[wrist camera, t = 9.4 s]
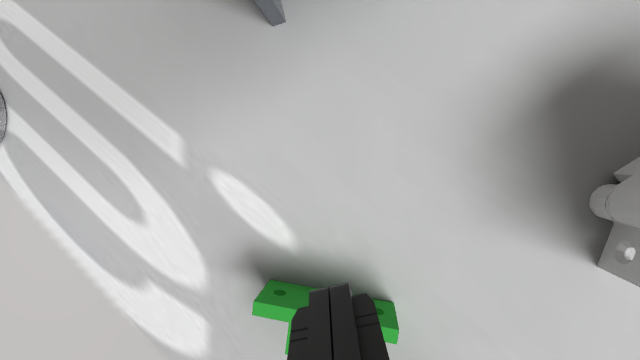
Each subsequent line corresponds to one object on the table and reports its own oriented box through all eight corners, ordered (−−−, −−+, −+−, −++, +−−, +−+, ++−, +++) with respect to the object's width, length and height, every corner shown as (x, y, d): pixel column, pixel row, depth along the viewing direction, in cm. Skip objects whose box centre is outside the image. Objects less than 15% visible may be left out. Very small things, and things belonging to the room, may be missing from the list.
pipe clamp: (266, 316, 29) (247, 346, 25) (270, 278, 29) (252, 300, 25) (387, 342, 28) (391, 378, 23) (394, 301, 28) (399, 330, 23)
